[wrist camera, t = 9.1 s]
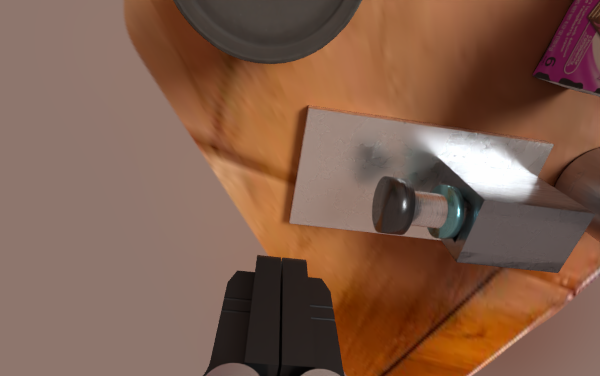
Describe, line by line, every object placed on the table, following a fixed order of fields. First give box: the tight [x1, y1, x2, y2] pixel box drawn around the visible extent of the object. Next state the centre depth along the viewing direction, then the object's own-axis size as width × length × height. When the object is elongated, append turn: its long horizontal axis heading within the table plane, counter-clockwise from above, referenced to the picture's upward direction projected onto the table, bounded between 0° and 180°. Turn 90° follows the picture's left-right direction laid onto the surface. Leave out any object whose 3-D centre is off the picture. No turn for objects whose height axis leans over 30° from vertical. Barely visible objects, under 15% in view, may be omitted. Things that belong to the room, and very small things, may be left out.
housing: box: [289, 105, 595, 273], centre depth 33 cm, size 26×13×10 cm, turn 81°
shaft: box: [372, 176, 472, 239], centre depth 32 cm, size 18×5×5 cm, turn 81°
